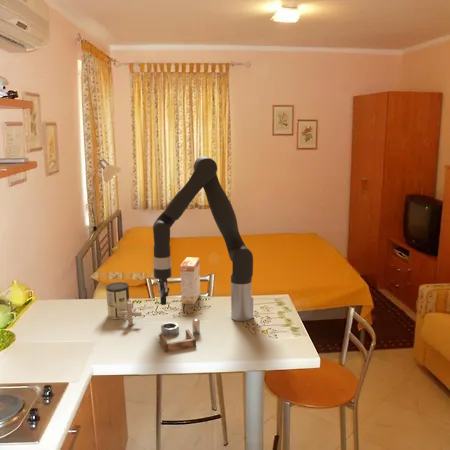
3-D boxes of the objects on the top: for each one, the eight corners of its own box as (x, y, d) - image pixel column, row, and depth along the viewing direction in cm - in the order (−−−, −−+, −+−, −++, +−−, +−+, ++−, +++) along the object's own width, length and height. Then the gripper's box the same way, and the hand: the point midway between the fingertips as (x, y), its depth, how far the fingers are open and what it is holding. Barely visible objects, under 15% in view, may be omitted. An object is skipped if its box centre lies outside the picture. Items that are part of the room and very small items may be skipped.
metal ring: (175, 328, 206) (175, 321, 205) (180, 334, 200) (179, 327, 199) (160, 330, 204) (159, 324, 203) (164, 337, 197) (163, 330, 197)
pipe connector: (136, 329, 205) (135, 307, 203) (115, 328, 207) (113, 306, 205) (145, 320, 214) (144, 299, 212) (124, 319, 216) (123, 298, 214)
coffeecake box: (187, 293, 248) (186, 256, 244) (200, 293, 247) (199, 257, 243) (180, 303, 234) (179, 265, 230) (195, 304, 233) (194, 265, 229)
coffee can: (119, 308, 228) (117, 280, 225) (135, 313, 223) (133, 284, 220) (102, 316, 220) (100, 287, 217) (119, 320, 214) (117, 291, 211)
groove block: (188, 336, 198) (188, 329, 197) (196, 346, 189) (195, 339, 188) (159, 341, 194) (158, 334, 193) (165, 352, 184) (165, 345, 184)
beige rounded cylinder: (198, 331, 202) (198, 318, 201) (200, 334, 200) (200, 320, 198) (191, 332, 201) (191, 319, 200) (193, 335, 199) (193, 321, 197)
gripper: (175, 269, 200) (175, 308, 203) (167, 261, 212) (168, 298, 215) (157, 271, 197) (158, 311, 201) (150, 262, 209) (151, 300, 213)
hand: (163, 304), depth 208 cm, fingers closed
